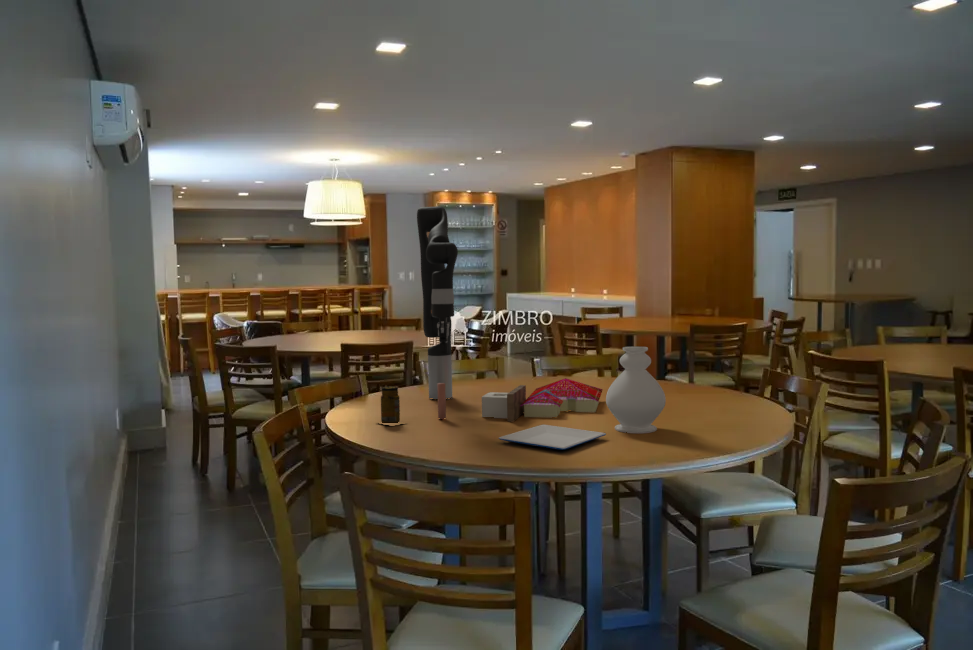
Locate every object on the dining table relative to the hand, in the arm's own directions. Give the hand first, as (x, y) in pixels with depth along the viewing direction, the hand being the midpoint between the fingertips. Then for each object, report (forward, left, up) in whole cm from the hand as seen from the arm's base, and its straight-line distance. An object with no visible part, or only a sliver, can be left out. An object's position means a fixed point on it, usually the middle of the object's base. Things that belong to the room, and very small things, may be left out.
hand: (443, 354), depth 245 cm
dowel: (+2, -1, -22) cm, 22 cm away
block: (-8, +17, -22) cm, 29 cm away
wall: (-8, +23, -22) cm, 33 cm away
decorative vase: (+7, +63, -22) cm, 67 cm away
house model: (-25, +36, -22) cm, 50 cm away
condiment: (+12, -15, -22) cm, 29 cm away
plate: (+28, +41, -22) cm, 55 cm away
